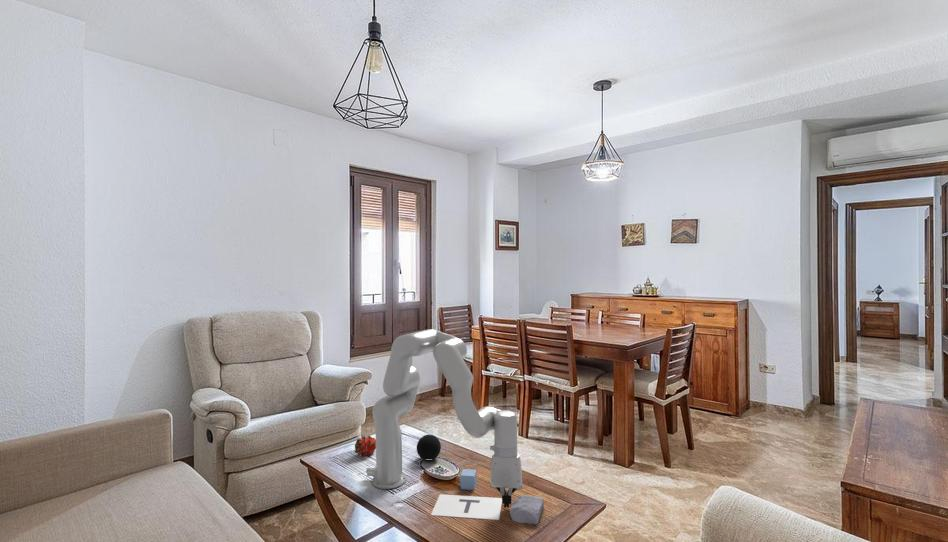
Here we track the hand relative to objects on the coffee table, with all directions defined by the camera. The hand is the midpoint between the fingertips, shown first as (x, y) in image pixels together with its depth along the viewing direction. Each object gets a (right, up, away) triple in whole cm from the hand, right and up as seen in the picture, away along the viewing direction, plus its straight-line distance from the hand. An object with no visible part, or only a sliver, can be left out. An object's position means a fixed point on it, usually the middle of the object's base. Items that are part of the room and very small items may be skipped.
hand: (506, 505), depth 147 cm
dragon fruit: (-57, -2, +45) cm, 73 cm away
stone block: (+6, -2, -2) cm, 7 cm away
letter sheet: (-13, -2, +2) cm, 13 cm away
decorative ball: (-29, -1, +39) cm, 49 cm away
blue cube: (-13, -1, +16) cm, 21 cm away
